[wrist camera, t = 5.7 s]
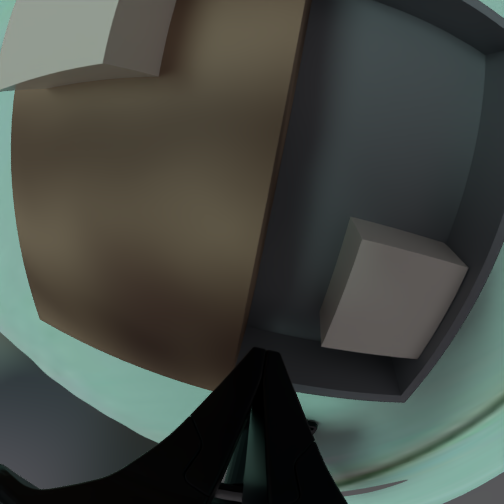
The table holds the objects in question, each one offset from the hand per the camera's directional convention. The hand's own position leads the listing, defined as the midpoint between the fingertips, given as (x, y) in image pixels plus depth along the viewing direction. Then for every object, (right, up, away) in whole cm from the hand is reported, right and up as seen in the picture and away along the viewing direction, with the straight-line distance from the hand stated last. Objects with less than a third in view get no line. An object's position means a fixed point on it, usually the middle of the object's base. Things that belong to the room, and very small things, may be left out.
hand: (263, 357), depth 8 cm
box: (+5, +6, +3) cm, 9 cm away
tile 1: (-5, +11, -3) cm, 12 cm away
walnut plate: (-4, +8, +4) cm, 10 cm away
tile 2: (+5, +1, +2) cm, 6 cm away
